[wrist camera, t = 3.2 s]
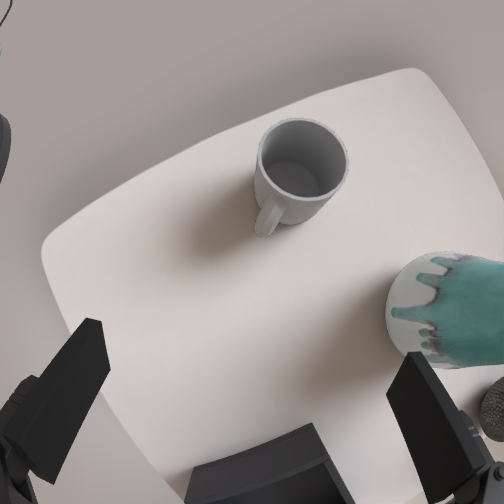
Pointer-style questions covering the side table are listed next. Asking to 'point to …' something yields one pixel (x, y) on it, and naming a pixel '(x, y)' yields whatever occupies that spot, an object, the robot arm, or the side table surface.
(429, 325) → the vase
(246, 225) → the side table surface
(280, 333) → the side table surface
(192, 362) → the side table surface
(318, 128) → the cup
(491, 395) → the decorative ball
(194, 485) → the open box
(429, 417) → the robot arm
